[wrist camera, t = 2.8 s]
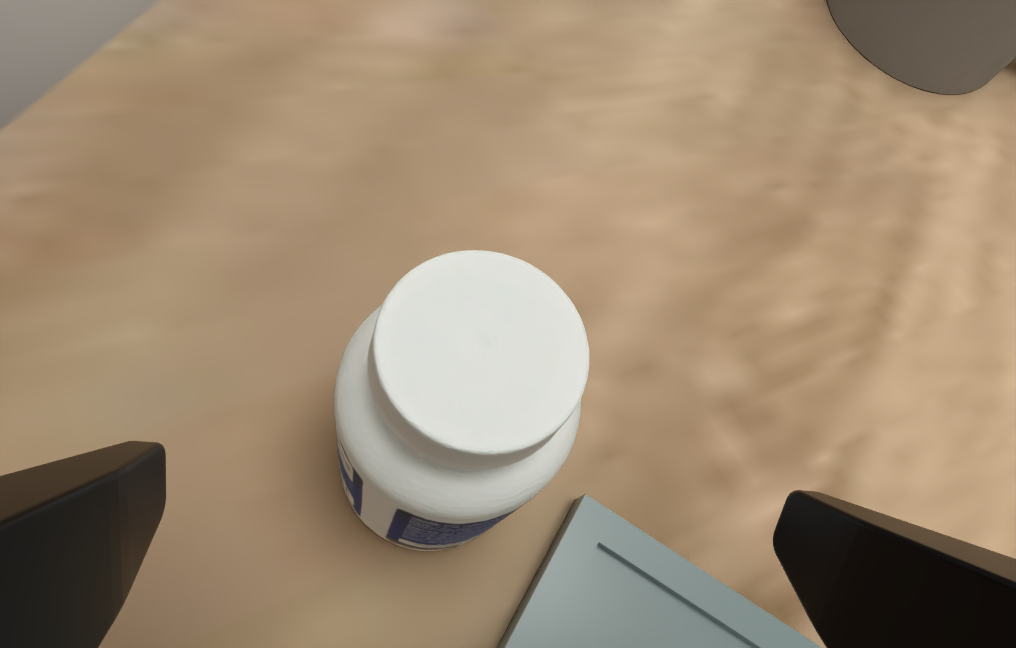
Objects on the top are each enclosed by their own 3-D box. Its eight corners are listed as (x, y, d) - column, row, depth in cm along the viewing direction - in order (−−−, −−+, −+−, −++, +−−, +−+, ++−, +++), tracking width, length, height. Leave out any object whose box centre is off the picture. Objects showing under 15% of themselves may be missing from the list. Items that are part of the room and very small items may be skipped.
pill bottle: (546, 443, 22) (676, 324, 13) (448, 591, 19) (528, 564, 11) (411, 346, 22) (451, 167, 13) (300, 479, 20) (261, 366, 11)
